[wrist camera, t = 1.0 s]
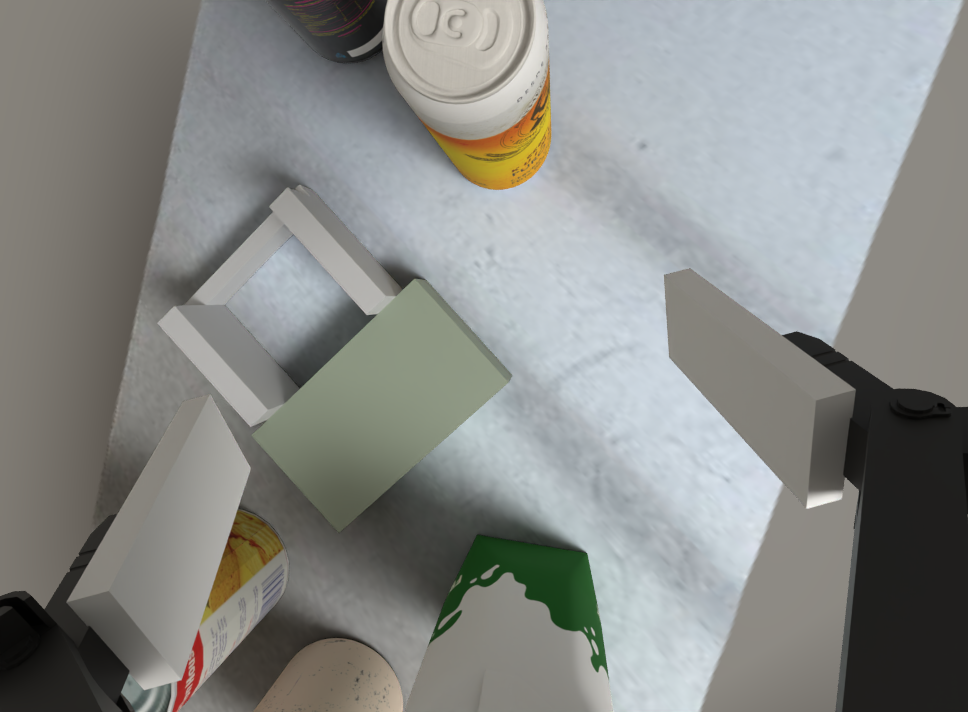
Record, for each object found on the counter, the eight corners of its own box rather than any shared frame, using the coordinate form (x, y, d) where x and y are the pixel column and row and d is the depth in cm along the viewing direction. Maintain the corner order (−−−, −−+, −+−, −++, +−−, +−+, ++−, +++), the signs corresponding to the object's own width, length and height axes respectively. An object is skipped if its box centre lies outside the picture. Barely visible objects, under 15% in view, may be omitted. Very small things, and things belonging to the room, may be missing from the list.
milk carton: (584, 669, 37) (617, 1091, 17) (447, 643, 38) (331, 1014, 18) (604, 540, 36) (662, 832, 16) (462, 517, 37) (356, 766, 17)
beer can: (537, 201, 35) (524, 129, 20) (440, 180, 35) (357, 95, 20) (562, 98, 34) (566, -58, 19) (462, 78, 34) (392, -88, 20)
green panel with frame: (329, 173, 36) (293, 153, 31) (512, 375, 36) (505, 387, 31) (184, 324, 38) (129, 327, 33) (355, 514, 38) (325, 547, 33)
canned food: (186, 498, 39) (28, 584, 28) (295, 519, 39) (180, 616, 27) (178, 605, 40) (21, 733, 29) (284, 627, 40) (167, 769, 28)
